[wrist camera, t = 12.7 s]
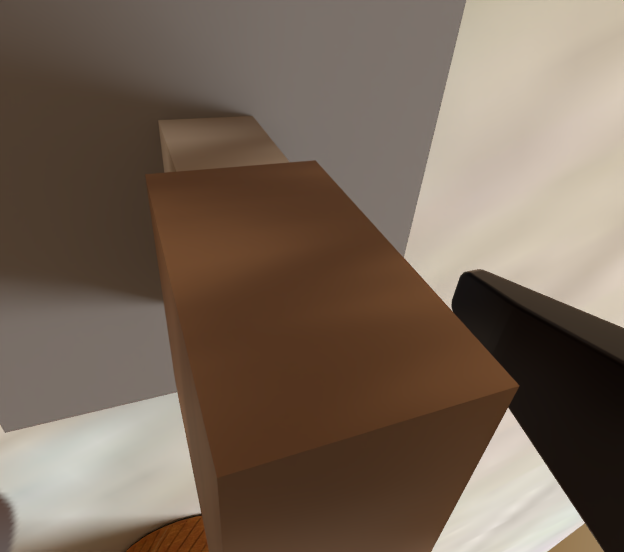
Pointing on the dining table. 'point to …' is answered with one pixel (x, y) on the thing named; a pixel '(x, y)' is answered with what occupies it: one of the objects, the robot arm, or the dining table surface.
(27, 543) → the dining table surface
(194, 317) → the brown wooden block
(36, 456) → the dining table surface
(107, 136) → the rest mat
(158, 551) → the disposable coffee cup
